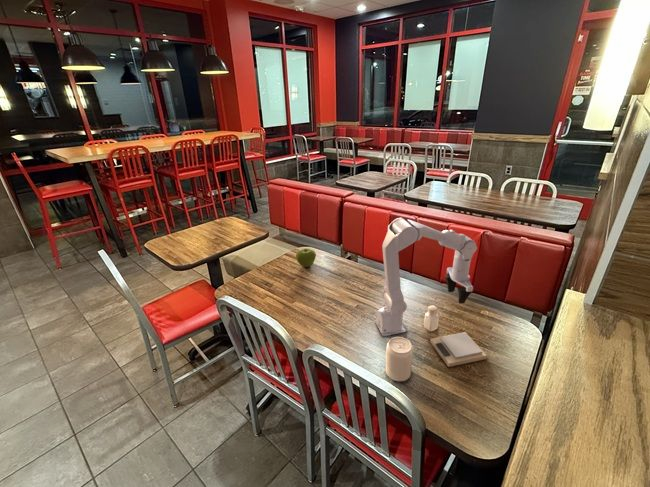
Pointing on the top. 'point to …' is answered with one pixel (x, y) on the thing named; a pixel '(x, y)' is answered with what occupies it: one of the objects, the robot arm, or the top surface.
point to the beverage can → (399, 358)
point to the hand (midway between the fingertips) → (456, 297)
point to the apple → (306, 257)
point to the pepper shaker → (431, 318)
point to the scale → (457, 349)
